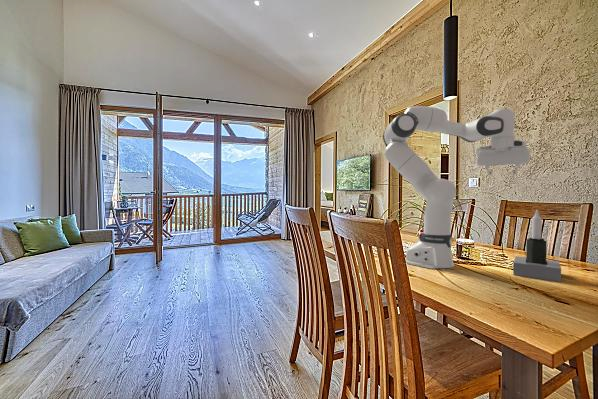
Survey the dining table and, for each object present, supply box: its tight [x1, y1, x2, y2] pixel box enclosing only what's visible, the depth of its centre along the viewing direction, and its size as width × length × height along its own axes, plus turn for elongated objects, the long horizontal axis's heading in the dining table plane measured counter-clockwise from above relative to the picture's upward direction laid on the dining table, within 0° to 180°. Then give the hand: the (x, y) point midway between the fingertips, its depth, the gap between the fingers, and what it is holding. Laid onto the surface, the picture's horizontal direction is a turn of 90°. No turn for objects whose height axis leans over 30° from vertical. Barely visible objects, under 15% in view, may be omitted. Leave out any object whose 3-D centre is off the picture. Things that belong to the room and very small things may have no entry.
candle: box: [525, 209, 548, 265], centre depth 114 cm, size 5×5×25 cm
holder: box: [512, 255, 562, 283], centre depth 114 cm, size 14×14×5 cm
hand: (502, 174), depth 132 cm, fingers open, 8 cm apart
